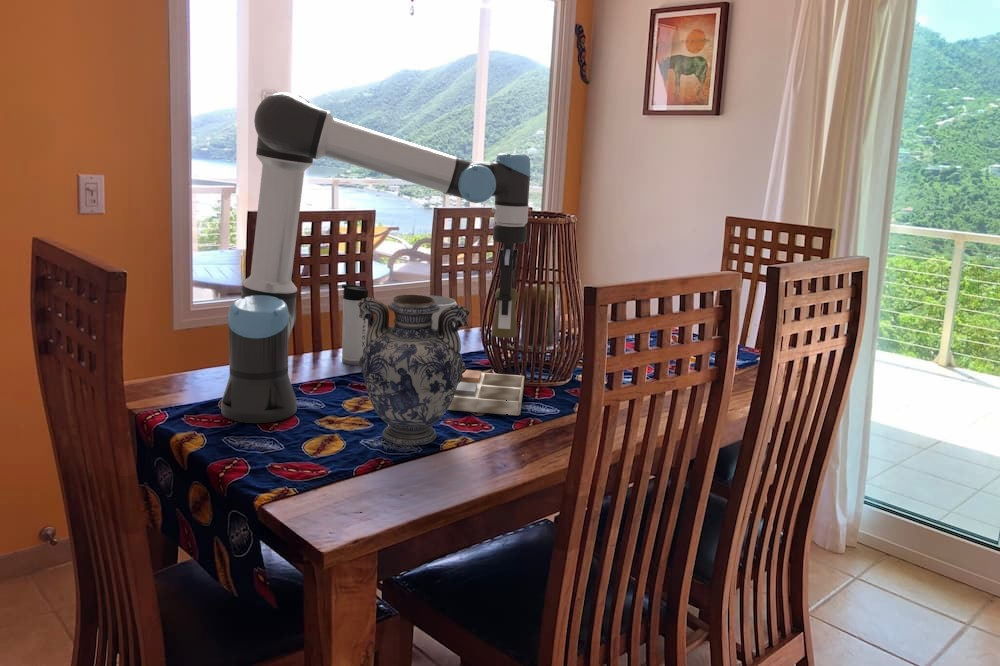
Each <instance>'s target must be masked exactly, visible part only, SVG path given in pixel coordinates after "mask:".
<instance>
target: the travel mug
mask: <svg viewBox="0 0 1000 666" xmlns="http://www.w3.org/2000/svg"><path fill="white" fill-rule="evenodd" d="M341 289H343V291H342V294H343V296H342V333H341V334H342V336H341V337H342V339H341V341H342V343H341V345H342V348H341V350H342V351H341V352H342V353H341V355H342V356H341V362H342V363H343V364H345V365H348V366H360V365H359V361H360V358H361V356H362V355H363V349H364V347H366V334H367V331H368V328H369V326H368V325H369V324H368V320H367V319H363V318H360V317H359V314H360V308H359V306H358V303H359V302H361V299H362V298H364V299H366V298H367V297H369V289H367V287H365V286H360V285H355V284H342V285H341Z"/></svg>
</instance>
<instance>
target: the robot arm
mask: <svg viewBox="0 0 1000 666" xmlns="http://www.w3.org/2000/svg"><path fill="white" fill-rule="evenodd" d="M253 120H254V128H255V131H256V134H257V141H256V142H257V144H256V151H255V152H256V153H255V156H256V157H257V159H258V160H259V162H260V163H261V164H262V167H261V175H260V177H261V178H260V187H259V195H258V204H257V214H256V222H255V231H254V242H253V250H252V259H251V268H250V275H249V276H248V277H247V278H246V279H245V280H242V282H241V283H242V285H241V295H240V298H238V299H235V300H234V301H233V302H232V303H231V304H230V305H229V308H228V315H227V324H228V349H229V350H228V363H229V377H228V379H227V380H228V381H227V383H226V386H225V389H224V391H223V396H222V397H221V398H222V399H221V402H220V411H221V412H220V413H221V415H222V417H224V418H225V417H226V418H225V419H227V418H228V420H230V419H231V421H233V420H234V421H233V422H237V421H238V422H237V423H243V422H244V423H245V424H266V423H273V422H279V421H282V420H286V419H288V418H291V417H292V416H294V415H295V414H296V413H297V412H298V411H297V409H298V406H297V404H298V401H297V397H296V393H295V391H294V388H293V386H292V382H291V379H290V376H289V338H290V335H291V332H292V331H293V329H294V326H295V323H296V318H297V317H296V316H297V313H296V306H297V305H296V303H297V295H298V288H297V286H296V285H295V283H294V282H293V281H292V275H293V271H294V270H293V268H294V267H293V266H294V261H295V251H296V243H297V234H298V225H299V218H300V210H301V202H302V191H303V186H304V185H303V184H304V176H305V171H306V170H308V169H309V168H310V167H311V166H312V165H313V162H314V160H319V159H321V158H323V157H325V158H329V159H333V160H336V161H338V162H342V163H345V164H349V165H352V166H356V167H359V168H361V169H365V170H369V171H372V172H376V173H379V174H382V175H386V176H389V177H392V178H395V179H399V180H402V181H405V182H408V183H412V184H416V185H419V186H422V187H425V188H429V189H432V190H435V191H438V192H441V193H442V194H443V195H447V196H454V197H456V198H457V197H458V198H460V199H463V200H466V202H469V203H474V204H480V203H484V202H487V201H488V200H489V199H490V198H492V197H494V207H492V208H491V213H494V216H493V221H494V222H495V224H494V225H493V230H492V231H493V232H492V240H493V241H494V242H496V243H502V244H503V246H502V247H503V248H500V249H499V259H500V260H499V269H500V283H499V288H500V295H499V298H497V300H499V320H498V328H500V329H510V322H511V304H512V300H511V299H512V297H511V291H512V288H513V281H514V282H515V271H516V268H517V259H518V255H519V249H517V248H516V245H517V244H518V245H519V244H523V243H526V242H527V236H528V235H527V234H528V227H527V223H528V222H529V221H528V219H529V208H530V207H529V197H530V183H531V182H530V181H531V176H532V175H531V159H530V156H528V155H527V154H523V153H512V152H511V153H509V152H507V153H504V152H499V153H497V155H496V159H495V161H476V160H475V161H474V160H467V159H463V158H460V157H457V156H454V155H450V154H448V153H444V152H442V151H439V150H435V149H432V148H429V147H425V146H422V145H419V144H417V143H413V142H410V141H406V140H403V139H401V138H399V137H398V138H397V137H394V136H392V135H391V136H390V135H387V134H385V133H381V132H378V131H375V130H372V129H369V128H365V127H363V126H359V125H356V124H352V123H350V122H347V121H343V120H341V119H338V118H335V117H334V116H333V114H332V113H331V111H329V110H326V109H324V108H320V107H318V106H315V105H313V104H312V103H310V101H309V100H307V99H306V98H304V97H302V96H301V95H298V94H296V93H295V94H294V93H290V92H276V93H272V94H270V95H269V96H267V97H265V98H264V99H263V100H261V102H260V103H259V105H258V106H257V108H256V110H255V113H254V119H253ZM515 248H516V249H515ZM514 270H515V271H514ZM497 300H496V301H497Z"/></svg>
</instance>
